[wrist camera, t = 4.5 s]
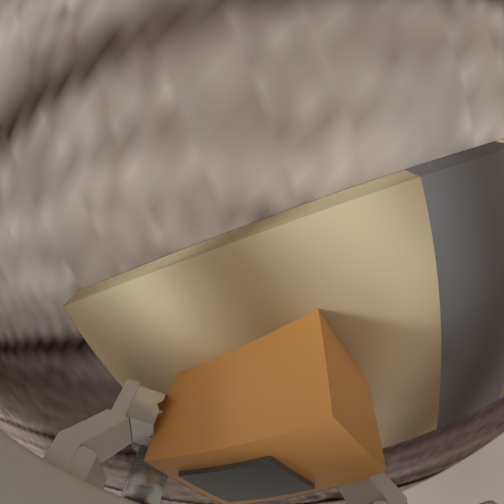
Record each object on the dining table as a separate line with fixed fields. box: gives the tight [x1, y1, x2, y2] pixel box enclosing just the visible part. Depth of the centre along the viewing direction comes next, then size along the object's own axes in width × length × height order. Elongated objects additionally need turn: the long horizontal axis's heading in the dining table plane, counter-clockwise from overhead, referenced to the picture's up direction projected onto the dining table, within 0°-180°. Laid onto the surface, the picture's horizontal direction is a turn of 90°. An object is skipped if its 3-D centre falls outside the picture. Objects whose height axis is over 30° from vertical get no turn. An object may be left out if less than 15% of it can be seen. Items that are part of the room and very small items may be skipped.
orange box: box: [144, 309, 386, 504], centre depth 9 cm, size 6×4×4 cm, turn 125°
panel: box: [63, 139, 504, 448], centre depth 11 cm, size 20×13×1 cm, turn 113°
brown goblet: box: [121, 441, 168, 504], centre depth 12 cm, size 4×4×8 cm
